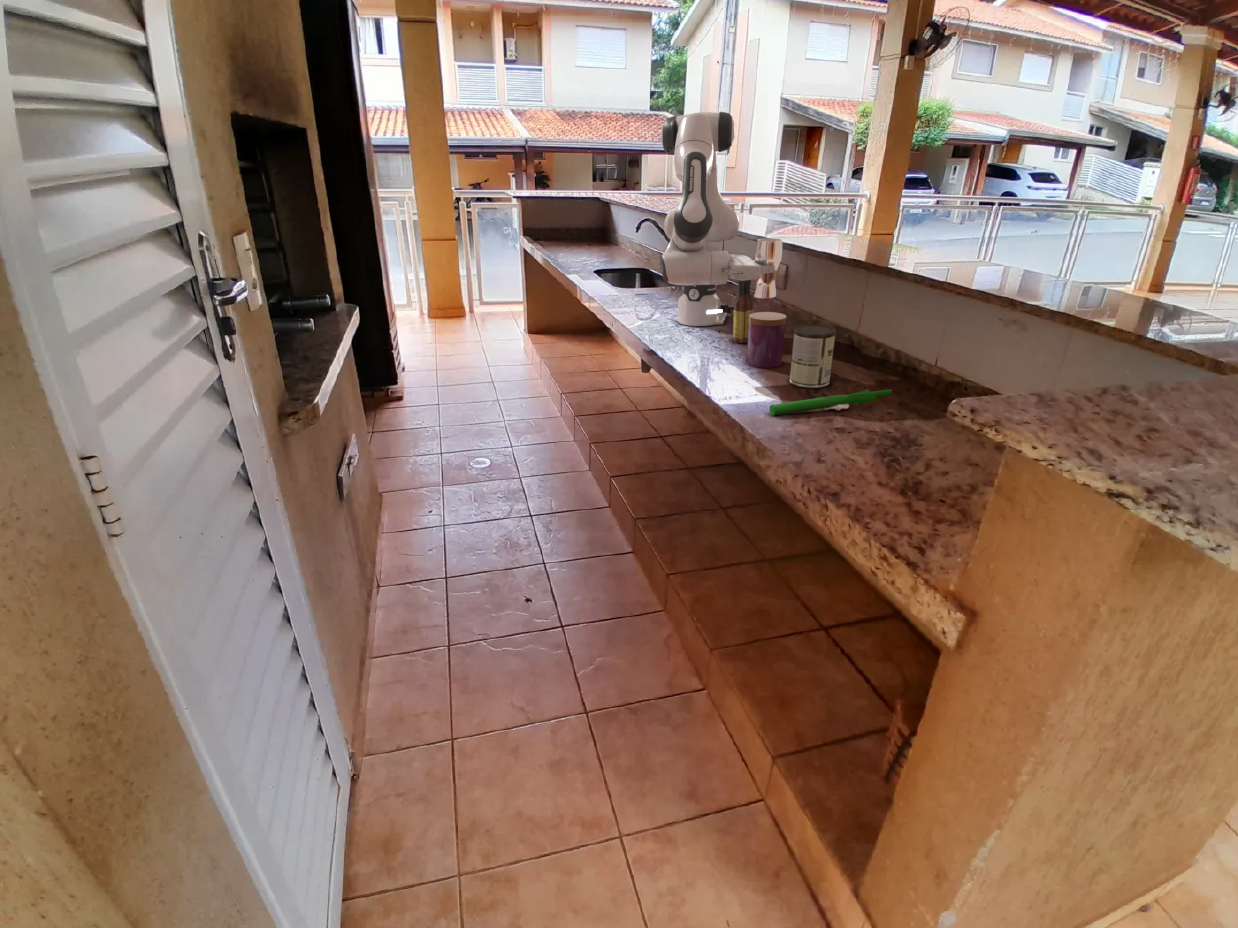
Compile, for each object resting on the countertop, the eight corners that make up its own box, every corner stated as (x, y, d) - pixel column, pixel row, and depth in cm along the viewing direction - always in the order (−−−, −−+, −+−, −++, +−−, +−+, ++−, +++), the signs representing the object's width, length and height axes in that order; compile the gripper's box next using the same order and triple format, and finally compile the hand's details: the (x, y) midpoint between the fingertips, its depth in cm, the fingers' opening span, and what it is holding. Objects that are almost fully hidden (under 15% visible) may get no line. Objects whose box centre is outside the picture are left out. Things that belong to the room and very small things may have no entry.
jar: (750, 356, 185) (753, 311, 179) (785, 359, 181) (790, 313, 175) (741, 365, 177) (744, 318, 171) (777, 369, 173) (782, 321, 167)
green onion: (775, 421, 141) (895, 403, 145) (775, 408, 139) (897, 390, 143) (766, 414, 145) (883, 396, 149) (767, 401, 143) (885, 383, 148)
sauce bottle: (751, 339, 203) (755, 277, 194) (753, 344, 197) (757, 280, 189) (731, 339, 204) (734, 277, 195) (732, 344, 198) (736, 280, 189)
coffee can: (790, 374, 168) (795, 323, 162) (830, 377, 165) (836, 325, 159) (787, 386, 160) (792, 332, 153) (828, 389, 157) (835, 335, 150)
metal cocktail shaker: (749, 294, 174) (753, 238, 167) (773, 293, 174) (778, 238, 168) (756, 299, 168) (760, 241, 161) (781, 298, 168) (786, 240, 162)
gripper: (726, 261, 157) (780, 260, 157) (715, 251, 175) (764, 250, 175) (725, 286, 160) (778, 285, 160) (714, 273, 178) (762, 273, 178)
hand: (770, 266), depth 168 cm, fingers closed on metal cocktail shaker, 6 cm apart
